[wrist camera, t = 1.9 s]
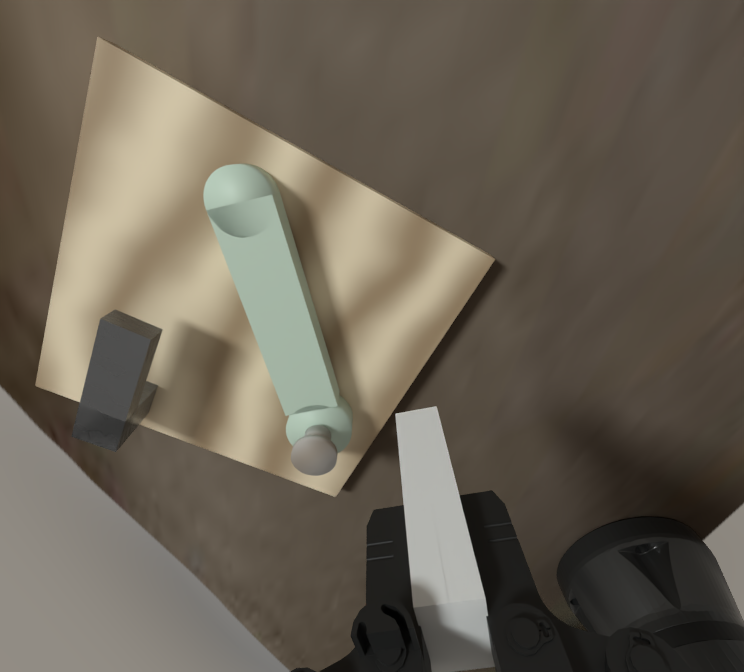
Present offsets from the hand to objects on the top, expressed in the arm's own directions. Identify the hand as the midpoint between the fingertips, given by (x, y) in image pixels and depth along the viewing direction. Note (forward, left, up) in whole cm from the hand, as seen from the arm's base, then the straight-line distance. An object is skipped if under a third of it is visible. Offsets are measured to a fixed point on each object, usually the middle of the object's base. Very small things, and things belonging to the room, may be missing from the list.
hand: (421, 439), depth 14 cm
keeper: (+15, +13, -14) cm, 24 cm away
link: (+6, +5, -14) cm, 16 cm away
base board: (+9, +7, -16) cm, 19 cm away
